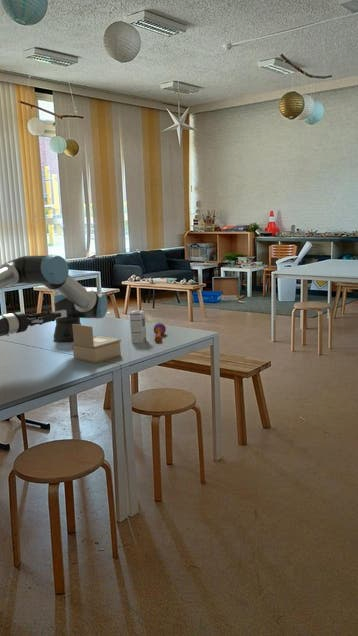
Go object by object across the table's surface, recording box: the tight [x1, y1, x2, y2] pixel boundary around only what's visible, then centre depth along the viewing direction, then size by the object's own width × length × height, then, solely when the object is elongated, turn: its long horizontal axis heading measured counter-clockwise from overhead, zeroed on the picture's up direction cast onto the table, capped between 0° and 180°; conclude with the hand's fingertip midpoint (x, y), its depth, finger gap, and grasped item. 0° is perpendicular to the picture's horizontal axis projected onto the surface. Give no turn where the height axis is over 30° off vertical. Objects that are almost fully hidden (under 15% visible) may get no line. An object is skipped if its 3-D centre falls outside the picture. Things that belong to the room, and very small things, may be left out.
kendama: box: [153, 322, 167, 344], centre depth 273 cm, size 6×6×20 cm
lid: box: [71, 324, 122, 349], centre depth 240 cm, size 15×15×9 cm
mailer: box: [72, 341, 122, 364], centre depth 241 cm, size 14×14×6 cm
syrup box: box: [128, 309, 147, 344], centre depth 266 cm, size 6×6×14 cm
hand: (65, 313), depth 227 cm, fingers closed
